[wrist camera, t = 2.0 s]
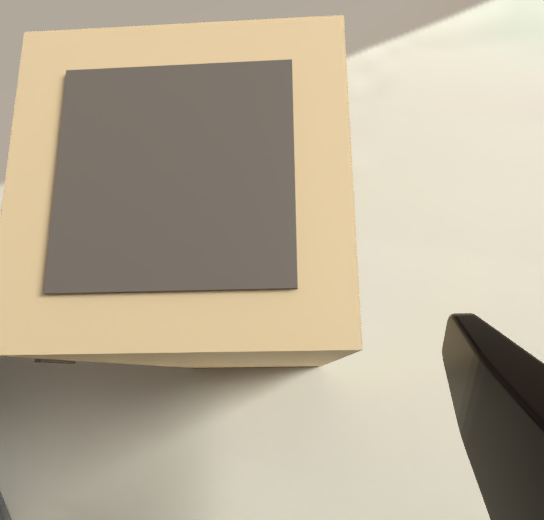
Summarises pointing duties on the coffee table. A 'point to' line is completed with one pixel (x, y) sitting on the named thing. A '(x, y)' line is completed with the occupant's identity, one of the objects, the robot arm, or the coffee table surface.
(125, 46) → the kraft box
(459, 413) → the robot arm
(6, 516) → the tray
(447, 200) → the coffee table surface
